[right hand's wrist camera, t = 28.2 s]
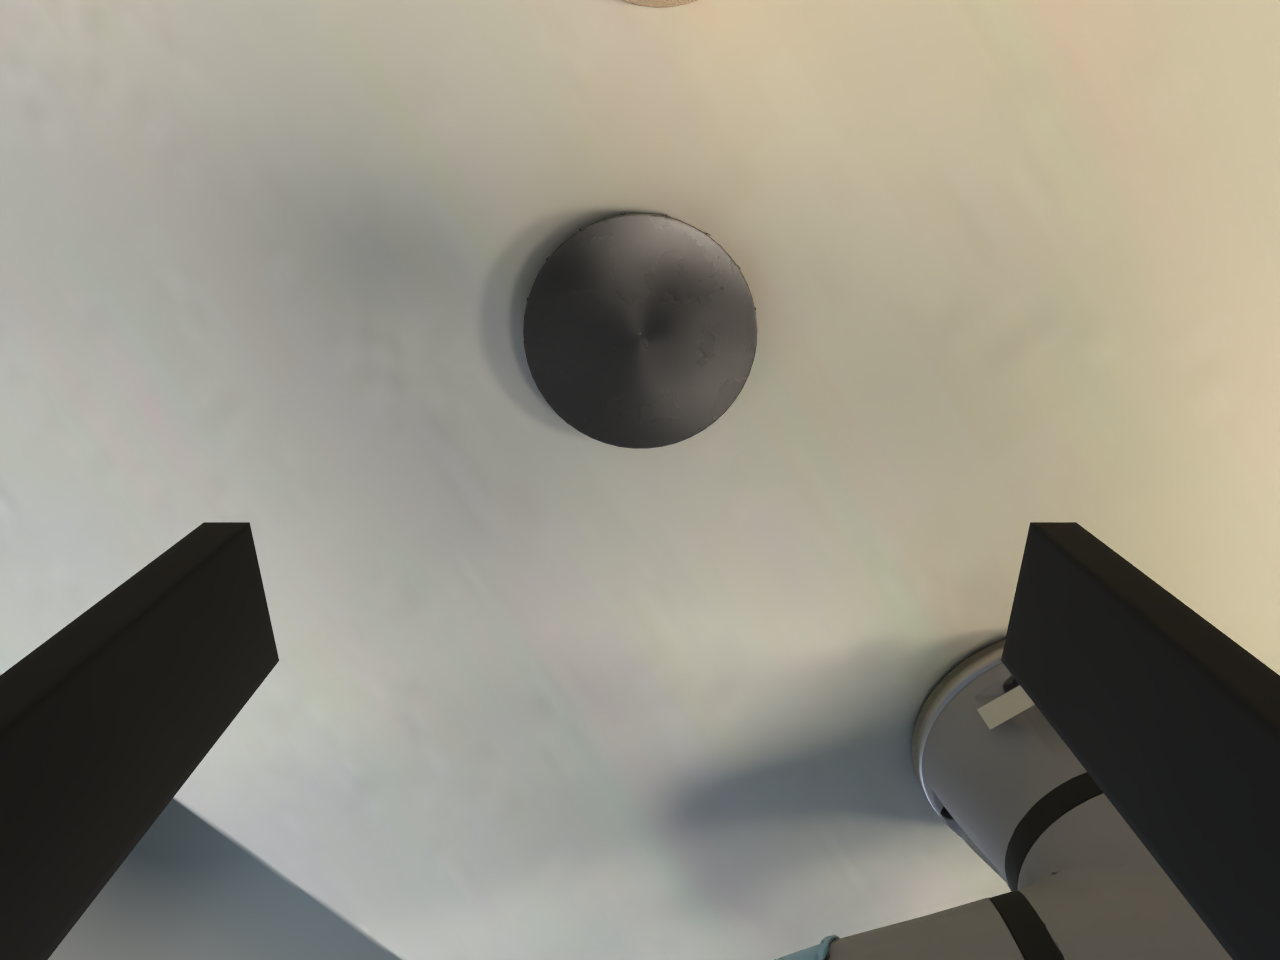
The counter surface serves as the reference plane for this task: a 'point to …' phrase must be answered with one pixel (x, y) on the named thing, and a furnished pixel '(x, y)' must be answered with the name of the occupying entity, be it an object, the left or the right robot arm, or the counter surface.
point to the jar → (660, 2)
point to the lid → (640, 331)
